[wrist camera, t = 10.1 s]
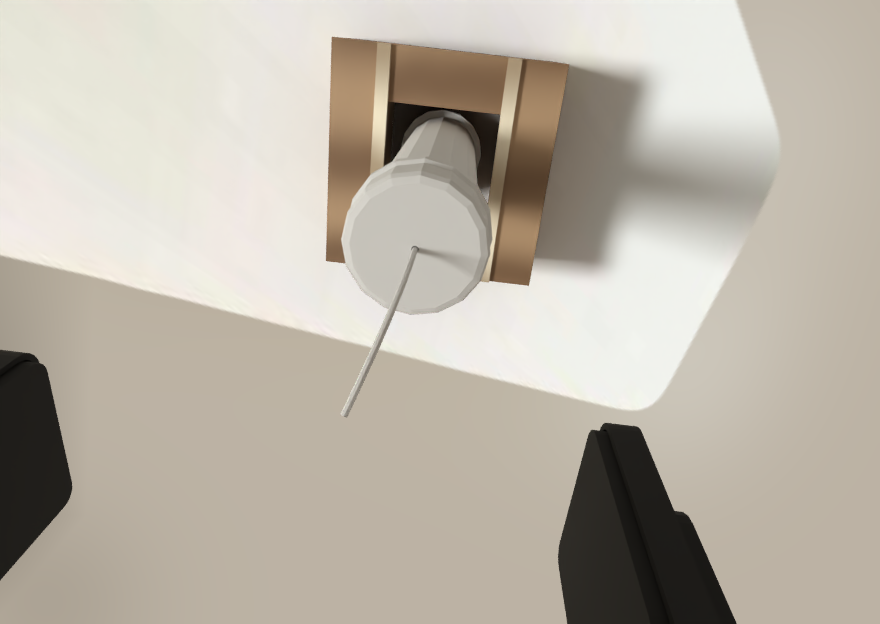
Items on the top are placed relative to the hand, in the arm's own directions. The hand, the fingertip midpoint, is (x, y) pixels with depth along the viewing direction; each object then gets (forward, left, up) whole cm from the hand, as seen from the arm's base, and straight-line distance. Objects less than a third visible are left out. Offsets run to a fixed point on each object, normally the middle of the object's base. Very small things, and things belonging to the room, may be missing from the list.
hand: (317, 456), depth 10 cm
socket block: (+1, 0, -35) cm, 35 cm away
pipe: (0, 0, -36) cm, 36 cm away
